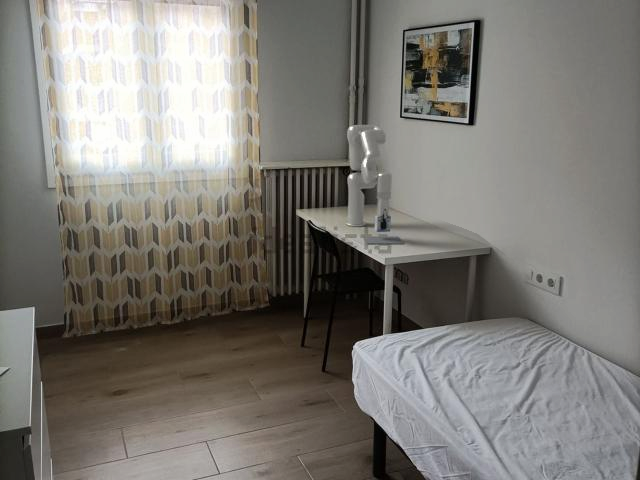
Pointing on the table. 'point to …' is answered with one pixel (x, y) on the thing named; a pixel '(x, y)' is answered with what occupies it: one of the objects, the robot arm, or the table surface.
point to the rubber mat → (383, 240)
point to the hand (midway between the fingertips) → (382, 227)
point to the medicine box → (378, 224)
